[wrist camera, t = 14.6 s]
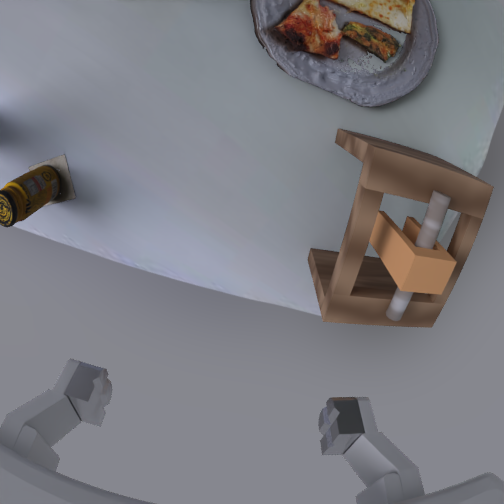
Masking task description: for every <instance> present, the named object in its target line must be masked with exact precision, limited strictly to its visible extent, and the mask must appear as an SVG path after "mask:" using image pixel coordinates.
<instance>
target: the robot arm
mask: <svg viewBox="0 0 504 504" xmlns="http://www.w3.org/2000/svg"><path fill="white" fill-rule="evenodd" d="M107 376H108V372H107V369H105V368H101V367H98V366H94V365H91V364H87V363H83V362H81V361H77V360H74V359H69V360H68V361H67V362H66V364H65V366H64V368H63V370H62V372H61V374H60V375H59V377H58V379H57V381H56V383H55V385H54V387H53V389H52V390H50V389H48V390H47V391H45V392H43V393H42V394H40V395H38V396H37V397H35V398H33V399H32V400H30V401H28V402H27V403H25V404H23V405H22V406H20V407H18V408H17V409H15V410H13V411H12V412H10V413H8V414H7V415H6V418H5V419H4V421H3V424H2V425H1V428H0V504H155V503H150V502H146V501H142V500H138V499H134V498H130V497H126V496H123V495H119V494H116V493H112V492H109V491H106V490H103V489H100V488H97V487H94V486H91V485H88V484H86V483H83V482H80V481H78V480H75V479H72V478H69V477H67V476H65V475H62V474H60V473H58V472H56V469H57V466H58V463H59V460H60V458H59V456H58V455H57V454H56V453H55V452H54V450H53V449H52V448H51V447H52V446H53V445H54V444H55V443H57V442H58V441H59V440H60V439H62V438H63V437H64V436H65V435H66V434H68V433H69V432H70V431H71V430H72V429H74V428H75V427H76V426H77V425H78V424H80V423H81V421H84V422H86V423H90V424H93V425H97V426H101V424H102V422H103V419H104V416H105V410H104V407H105V406H106V405H108V404H109V402H110V399H111V395H112V384H111V381H110V380H108V378H107ZM326 405H327V407H325V408H323V409H322V411H321V413H320V416H319V431H320V432H321V433H322V434H323V435H324V436H323V437H322V439H321V440H320V442H321V450H322V455H341V454H343V457H344V458H345V459H346V461H347V462H348V463H349V464H350V466H351V467H352V468H353V470H354V471H355V472H356V474H357V475H358V476H359V478H360V479H361V480H362V481H363V483H364V484H365V485H366V486H367V488H366V489H365V490H364V491H362V492H360V493H359V494H358V495H357V496H356V502H357V504H504V481H502V480H501V479H500V478H499V477H497V476H496V475H494V474H493V473H490V472H489V473H488V472H487V473H484V474H482V475H479V476H477V477H474V478H472V479H469V480H467V481H464V482H462V483H459V484H456V485H454V486H451V487H448V488H445V489H442V490H439V491H435V492H432V493H429V494H426V495H425V494H424V489H423V485H422V481H421V477H420V473H419V469H418V467H417V466H416V465H415V464H414V463H413V462H412V461H411V460H410V459H409V458H408V457H407V456H406V455H405V454H403V452H401V451H400V450H399V449H398V448H397V447H396V446H395V445H394V444H393V443H392V442H391V441H390V440H389V439H388V438H387V437H386V436H385V435H384V434H383V433H382V432H378V429H377V426H376V422H375V418H374V414H373V411H372V407H371V404H370V400H369V398H368V397H343V398H342V397H337V398H329V399H328V400H327V402H326Z"/></svg>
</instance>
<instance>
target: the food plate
mask: <svg viewBox="0 0 504 504" xmlns="http://www.w3.org/2000/svg"><path fill="white" fill-rule="evenodd" d="M250 4H251V6H250V7H251V13H252V16H253V22H254V27H255V34H256V37H257V39H258V41H259V43H260V44H261V45H262V46H263V49H264V47H266V50H267V52H268V54H269V56H270V57H271V58H272V59H274V60H275V61H276V62H277V65H278V67H279V68H280V69H282V70H283V71H285V72H286V73H287V74H289V75H290V76H292V77H294V78H295V79H296V78H298V79H300V80H302V81H304V82H307V83H310V84H312V85H315V86H317V87H320V88H322V89H324V90H326V91H329V92H331V93H334V94H336V95H338V96H340V97H342V98H345V99H347V100H348V99H350V100H351V102H355V104H356V103H357V105H359V106H368V107H372V106H381V105H385V104H387V103H390V102H393V101H394V100H397V99H399V98H401V97H402V96H403V95H405V94H407V93H409V92H410V91H413V90H414V89H415V88H416V87H417V86H418V85H419V84H420V83H421V82H422V80H423V79H424V78H425V77H426V76H427V75H428V72H429V70H430V68H431V65H432V63H433V59H434V56H435V53H436V49H437V46H438V44H439V37H438V31H437V26H436V24H437V23H436V17H435V15H434V10H433V9H432V6H431V3H430V2H429V0H250ZM323 6H325V7H323ZM344 14H345V15H344ZM370 21H371V22H370ZM373 24H377V25H381V26H383V27H386V28H387V29H389V30H390V28H391V29H392V30H394V31H398V32H399V33H401V32H404V33H405V34H406V33H407V35H406V40H405V42H404V44H403V47H402V50H401V52H400V55H399V58H398V59H396V60H395V62H394V63H391V64H390V66H387V67H385V68H384V69H383V71H376V69H373V70H374V72H373V73H369V71H368V70H366V69H364V68H363V65H362V62H364V60H363V61H362V60H361V59H359V58H360V57H362V58H363V57H364V56H366V55H368V53H367V51H368V52H369V53H372V54H374V55H375V56H376V57H379V58H380V59H381V60H383V62H384V63H386V60H388V58H389V57H394V55H396V54H395V53H396V52H397V49H398V47H401V44H400V43H398V42H397V41H396V39H395V38H394V37H393V36H391V35H390V34H387V33H384V32H382V31H381V30H382V29H380V28H379V29H378V28H377V27H374V25H373ZM356 43H357V44H356ZM363 55H364V56H363ZM348 57H349V59H352V60H354V61H355V62H356V64H358V65H360V66H361V67H362V69H363V70H358V72H357V71H356V70H357V69H356V68H354V69H352V68H351V66H346V65H349V63H348V62H347V61H348ZM366 58H367V57H366ZM369 58H370V59H371V58H372V56H369ZM369 58H367V59H369ZM341 59H343V60H344V61H343V62H340V60H341ZM332 61H335V62H332ZM367 62H368V64H369V60H368V61H367ZM324 63H326V64H324ZM353 63H354V62H353ZM365 64H366V62H364V65H365ZM342 65H343V66H342ZM355 66H356V65H355ZM373 66H374V65H373ZM337 67H338V68H337ZM366 67H368V66H366ZM372 68H373V67H372ZM341 69H343V70H344V71H347V73H344V72H343V71H341ZM345 69H347V70H345ZM380 69H381V66H380ZM337 70H338V71H337ZM350 70H355V71H356V72H350ZM358 73H360V74H358Z"/></svg>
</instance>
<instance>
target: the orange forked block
mask: <svg viewBox="0 0 504 504" xmlns="http://www.w3.org/2000/svg"><path fill="white" fill-rule="evenodd" d="M421 226H422V225H421V224H420V223H418V222H417V221H416V220H415V219H414V218H413V217H408V216H407V219H406V222H405V225H404V228H403V230H402V231H401V230H400V228H399V227H398V226H397V225H396V224H395V223H394V222H393V221H392V220H391V218H390V217H389V216H388V215H387V214H386V213H385V212H384V211H378V215H377V218H376V221H375V224H374V228H373V231H372V234H371V237H370V240H369V241H370V243H371V245H372V246H373V248H374V249H375V251H376V252H377V254H378V255H379V257H380V258H381V260H382V262H383V263H384V265H385V266H386V268H387V270H388V271H389V273H390V274H391V276H392V278H393V279H394V281H395V283H396V284H397V286H398V288H399V289H400V291H407V292H418V293H429V294H440V295H441V294H442V292H443V290H444V288H445V286H446V284H447V282H448V280H449V278H450V276H451V274H452V272H453V269H454V267H455V265H456V263H457V262H456V261H455V260H454V258H453V257H452V256H451V255H450V254H449V253H448V252H447V251H446V250H445V249H444V248H443V247H442V246H441V245H440V244H439V243H438V242H437V241H436V242H435V244H434V247H433V249H427V248H421V247H416V246H414V245H415V243H416V240H417V237H418V235H419V232H420V229H421Z"/></svg>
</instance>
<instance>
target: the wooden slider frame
mask: <svg viewBox="0 0 504 504" xmlns="http://www.w3.org/2000/svg"><path fill="white" fill-rule="evenodd" d="M335 143H336V144H338V145H339V146H341V147H342V148H344V149H345V150H346V151H348V152H349V153H351V154H352V155H353V156H355V157H356V158H358V159H359V160H360V161H362V162H363V168H362V172H361V176H360V180H359V184H358V188H357V192H356V195H355V199H354V203H353V207H352V210H351V214H350V218H349V221H348V225H347V228H346V232H345V235H344V239H343V242H342V245H341V249H340V252H334V251H327V250H320V249H312V248H311V249H310V253H309V257H308V263H309V267H310V271H311V275H312V278H313V282H314V286H315V290H316V294H317V298H318V303H319V307H320V311H321V315H322V319H323V322H335V323H349V324H365V325H383V326H404V327H432V326H433V324H434V323H435V321H436V319H437V317H438V316H439V314H440V312H441V310H442V308H443V306H444V305H445V302H446V301H447V299H448V297H449V295H450V293H451V291H452V289H453V287H454V285H455V283H456V281H457V279H458V277H459V275H460V272H461V270H462V268H463V266H464V264H465V261H466V259H467V257H468V255H469V252H470V250H471V248H472V245H473V243H474V241H475V238H476V236H477V233H478V230H479V228H480V225H481V223H482V220H483V217H484V214H485V211H486V209H487V206H488V203H489V200H490V197H491V194H492V191H493V188H494V187H493V186H491V185H489V184H488V183H486V182H484V181H482V180H481V179H479V178H477V177H475V176H473V175H472V174H470V173H468V172H466V171H464V170H462V169H460V168H458V167H456V166H454V165H452V164H450V163H448V162H446V161H444V160H442V159H440V158H438V157H436V156H433V155H430V154H427V153H424V152H421V151H418V150H415V149H412V148H409V147H406V146H402V145H399V144H396V143H392V142H389V141H385V140H382V139H378V138H375V137H371V136H367V135H363V134H359V133H355V132H351V131H347V130H343V129H338V131H337V136H336V141H335ZM384 193H388V194H392V195H397V196H401V197H405V198H409V199H413V200H417V201H421V202H425V203H429V206H428V209H427V212H426V215H425V218H424V221H423V223H422V226H421V229H420V232H419V235H418V237H417V240H416V243H415V245H414V246H416V247H421V248H427V249H433V247H434V244H435V242H436V239H437V236H438V234H439V231H440V228H441V226H442V223H443V220H444V217H445V214H446V212H447V209H451V210H454V211H458V212H461V215H460V218H459V221H458V224H457V226H456V229H455V232H454V234H453V237H452V239H451V242H450V245H449V247H448V249H447V252H448V253H449V254H450V255H451V256H452V257H453V258H454V260H455V261H456V262H457V263H456V265H455V267H454V269H453V272H452V274H451V276H450V278H449V280H448V282H447V284H446V286H445V288H444V290H443V292H442V294H441V295H440V294H429V293H428V294H425V293H418V292H407V291H400V289H399V288H398V286H397V284H396V283H395V281H394V279H393V278H392V276H391V274H390V273H389V271H388V270H387V268H386V266H385V265H384V263H383V262H382V260H381V258H376V257H369V256H364V255H365V252H366V249H367V246H368V243H369V240H370V237H371V234H372V231H373V228H374V224H375V221H376V218H377V215H378V211H379V208H380V205H381V201H382V198H383V194H384Z"/></svg>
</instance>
